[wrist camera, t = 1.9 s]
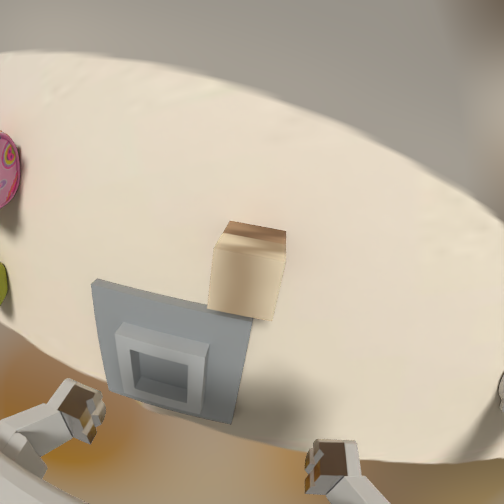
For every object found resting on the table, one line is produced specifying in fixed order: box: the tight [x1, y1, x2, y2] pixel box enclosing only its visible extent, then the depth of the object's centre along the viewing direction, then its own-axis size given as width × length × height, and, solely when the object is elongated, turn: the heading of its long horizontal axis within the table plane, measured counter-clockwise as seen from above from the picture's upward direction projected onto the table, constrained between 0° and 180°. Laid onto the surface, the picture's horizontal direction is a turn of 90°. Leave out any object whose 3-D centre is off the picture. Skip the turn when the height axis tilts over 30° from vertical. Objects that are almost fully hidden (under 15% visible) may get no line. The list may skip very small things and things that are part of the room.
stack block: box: [207, 221, 286, 321], centre depth 23 cm, size 4×4×6 cm
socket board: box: [91, 279, 253, 424], centre depth 30 cm, size 16×16×3 cm
